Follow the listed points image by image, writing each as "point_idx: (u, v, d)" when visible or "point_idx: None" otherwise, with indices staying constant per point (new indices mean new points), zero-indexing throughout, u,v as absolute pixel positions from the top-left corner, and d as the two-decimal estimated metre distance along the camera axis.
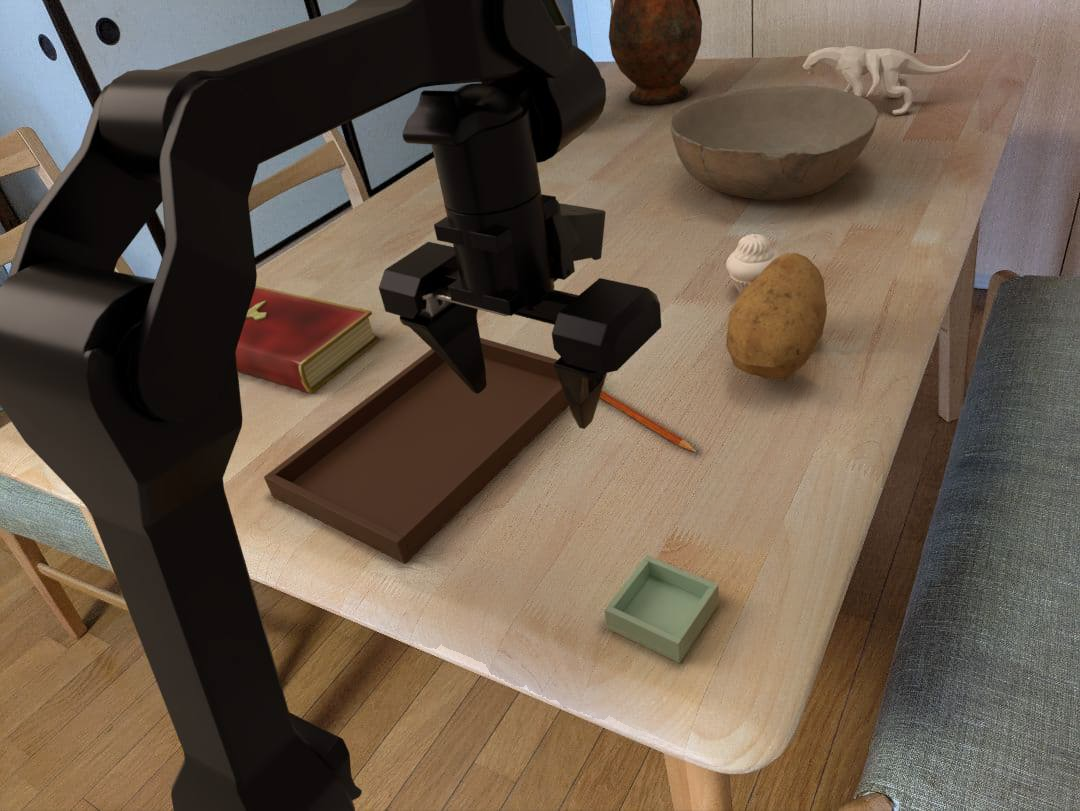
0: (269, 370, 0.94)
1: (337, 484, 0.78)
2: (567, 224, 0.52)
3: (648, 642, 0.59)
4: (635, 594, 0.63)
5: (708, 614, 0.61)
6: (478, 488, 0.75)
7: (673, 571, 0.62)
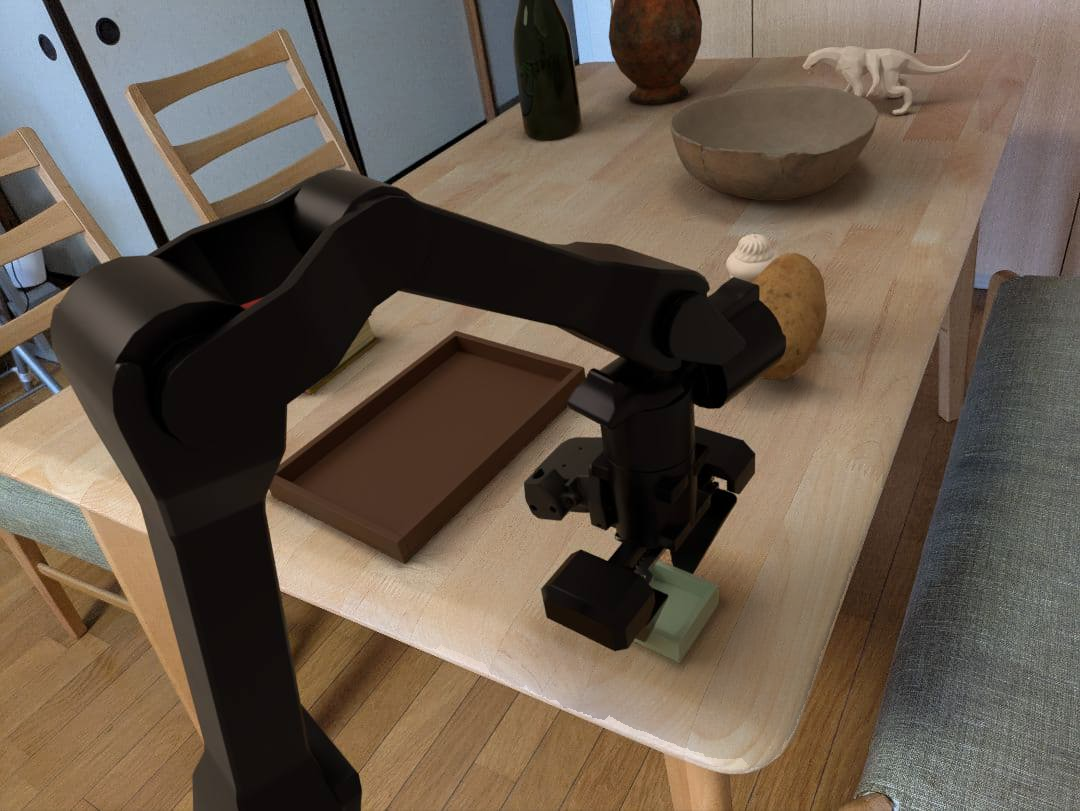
0: None
1: (337, 484, 0.78)
2: None
3: (648, 642, 0.59)
4: None
5: (708, 614, 0.61)
6: (478, 488, 0.75)
7: (673, 571, 0.62)
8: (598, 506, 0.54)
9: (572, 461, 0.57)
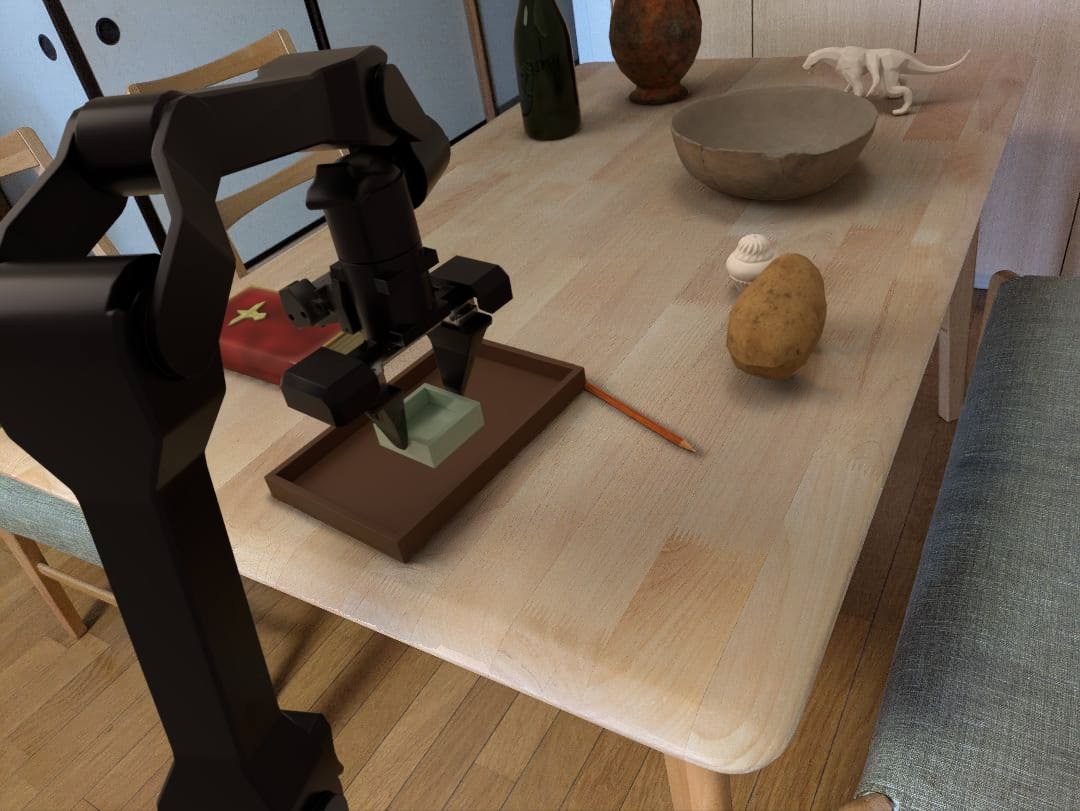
0: (268, 370, 0.94)
1: (337, 484, 0.78)
2: None
3: (409, 451, 0.64)
4: (411, 416, 0.68)
5: (470, 429, 0.65)
6: (478, 488, 0.75)
7: (444, 394, 0.67)
8: (341, 309, 0.59)
9: None
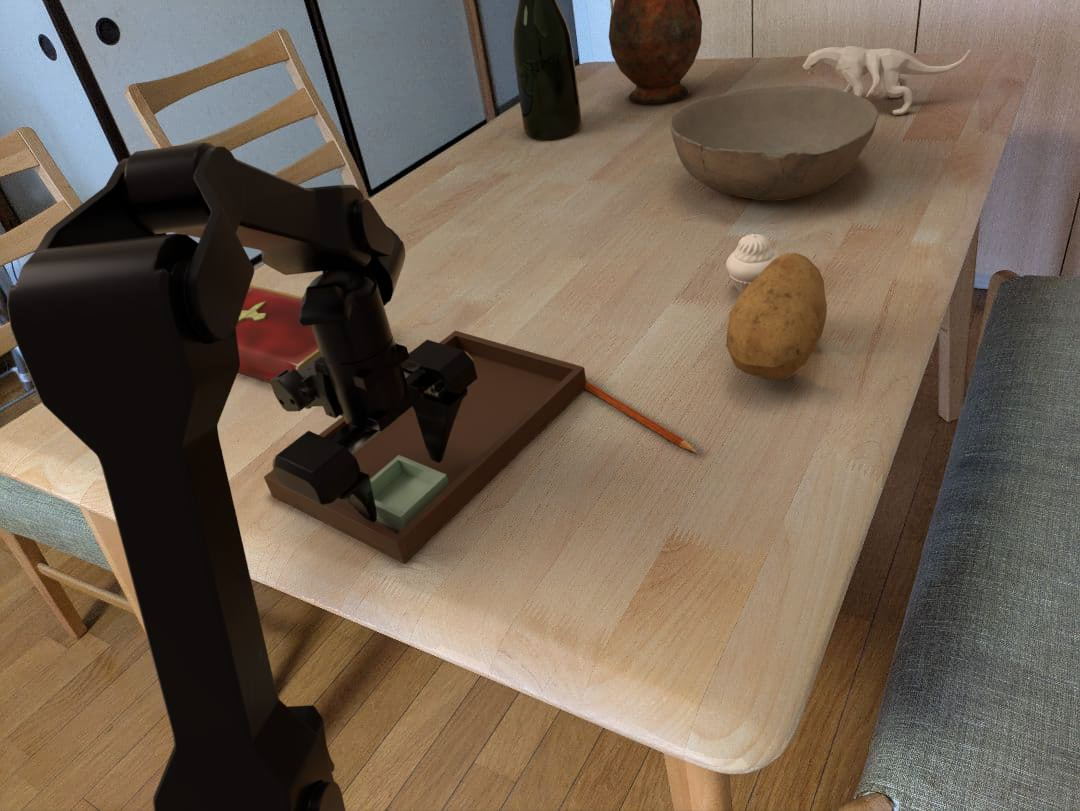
0: (267, 371, 0.94)
1: None
2: None
3: (384, 519, 0.72)
4: (387, 485, 0.76)
5: None
6: (478, 488, 0.75)
7: (415, 466, 0.76)
8: (325, 397, 0.67)
9: None
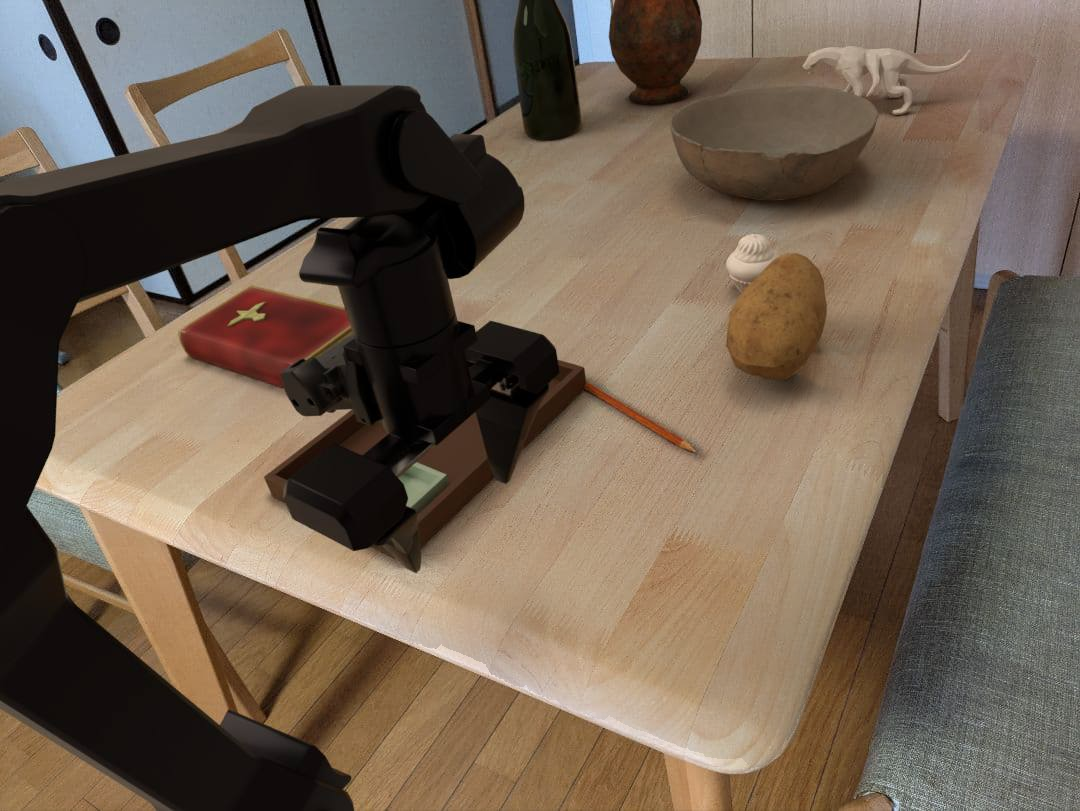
0: (266, 371, 0.93)
1: None
2: None
3: None
4: None
5: None
6: (478, 488, 0.75)
7: (415, 466, 0.76)
8: (357, 396, 0.48)
9: None
